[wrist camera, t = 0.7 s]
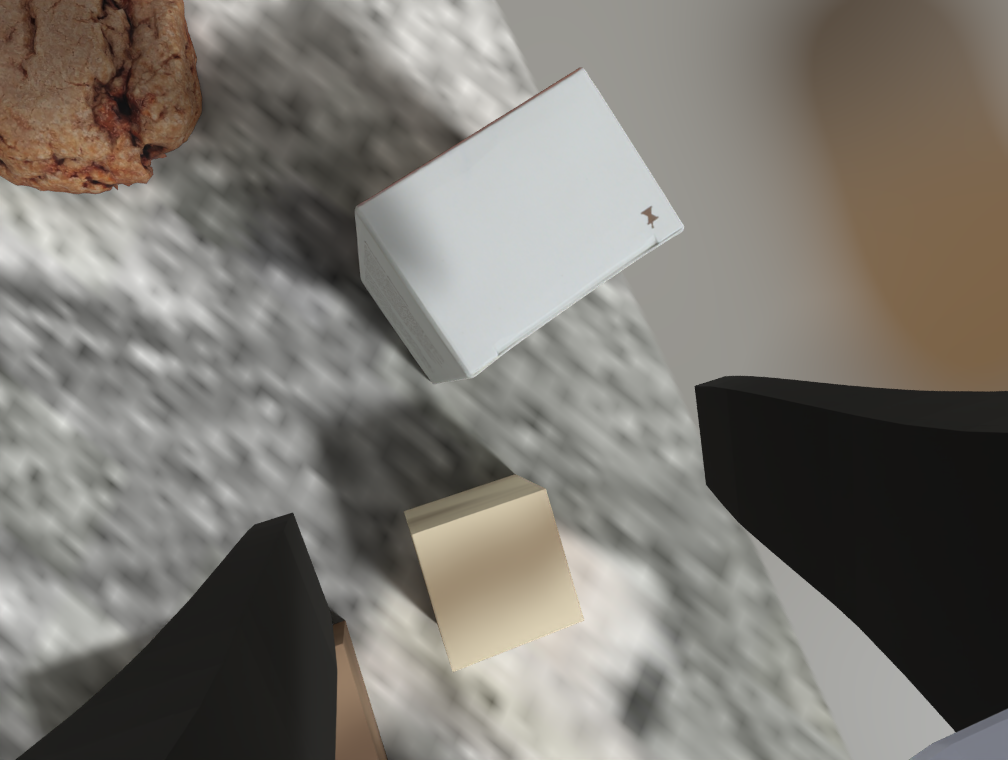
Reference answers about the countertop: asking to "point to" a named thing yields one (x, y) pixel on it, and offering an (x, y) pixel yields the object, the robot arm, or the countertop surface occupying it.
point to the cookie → (93, 91)
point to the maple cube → (493, 568)
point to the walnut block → (353, 706)
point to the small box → (509, 229)
